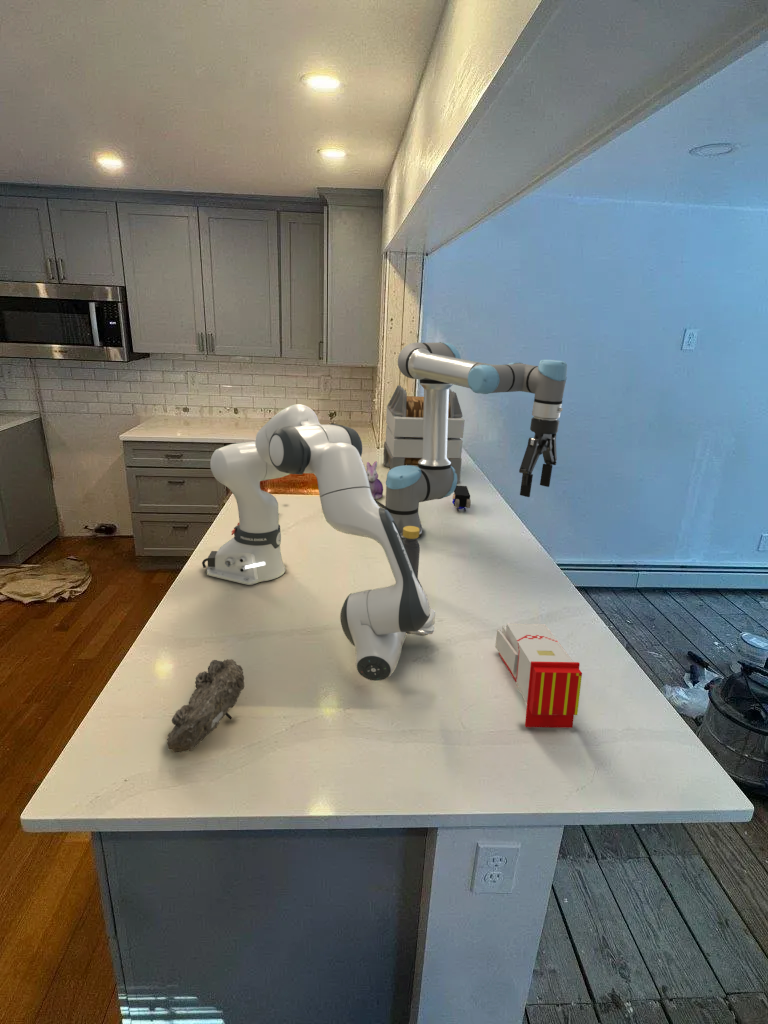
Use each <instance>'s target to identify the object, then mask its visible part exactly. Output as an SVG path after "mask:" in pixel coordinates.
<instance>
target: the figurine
mask: <svg viewBox="0 0 768 1024" xmlns="http://www.w3.org/2000/svg"><path fill="white" fill-rule="evenodd" d="M377 468H378V461H376V460H375V461H374V463H372V465H371V463H370V462H369V461H366V473H367V477H368V481H369V485H370V490H371V493H372V496H373V498H374V499H375V500H379V499H381V498H382V497H383V493H384V486H383V483H382V481H381V480H380V479H379V474H378V471H377Z"/></svg>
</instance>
